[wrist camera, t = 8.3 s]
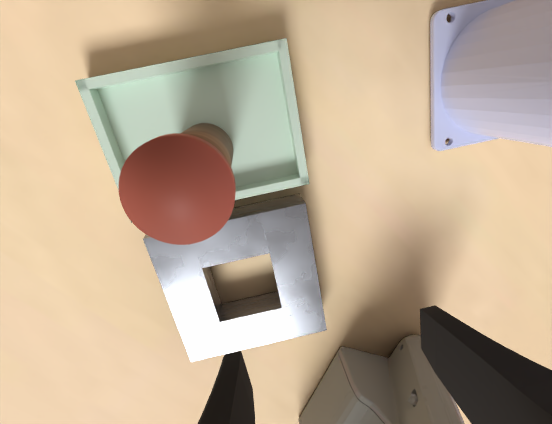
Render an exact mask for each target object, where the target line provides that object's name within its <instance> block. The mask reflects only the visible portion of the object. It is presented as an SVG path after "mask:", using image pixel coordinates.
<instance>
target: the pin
mask: <svg viewBox="0 0 552 424" xmlns="http://www.w3.org/2000/svg"><path fill="white" fill-rule="evenodd" d="M232 160H233V144H232V141H231V139H230V137H229V136H228V134H227V133H226V132H225V131H224V130H223V129H221V128H220V127H218V126H216V125H214V124H210V123H199V124H196V125H193V126H191V127H190V128H188V129H187V130H185V131H183V132H182V133H173V134H166V135H162V136H159V137H156V138H154V139H152V140H150V141H148V142H146V143H144V144H142V145H141V146H139V147H138V148H137V149H135V150H134V151H133V152H132V153H131V154H130V156H129V157H128V158H127V160H126V161H125V163H124V165H123V167H122V169H121V173H120V176H119V184H118V185H119V196H120V200H121V203H122V206H123V208H124V211H125V213H126V214H127V216H128V217H129V219H130V220H131V221H132V222H133V224H134V225H135V226H136V227H137V228H138V229H140V230H141V231H142V232H144V233H145V234H146V235H148V236H150V237H152V238H154V239H156V240H158V241H161V242H164V243H169V244H175V245H188V244H194V243H198V242H201V241H204V240H206V239H208V238H210V237H212V236H213V235H215V234H216V233H217V232H219V231H220V230H221V229H222V228H223V227H224V225H225V224H226V223H227V221H228V219H229V218H230V216H231V213H232V211H233V208H234V203H235V193H236V183H235V177H234V174H233V171H232V168H231V166H232Z"/></svg>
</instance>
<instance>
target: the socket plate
mask: <svg viewBox="0 0 552 424" xmlns="http://www.w3.org/2000/svg"><path fill="white" fill-rule="evenodd" d="M143 240H144V243H145V245H146V248H147V250H148V253H149V256H150V258H151V261H152V263H153V266H154V268H155V271H156V273H157V276H158V278H159V281H160V284H161V286H162V289H163V291H164V294H165V296H166V299H167V301H168V304H169V307H170V309H171V312H172V314H173V317H174V319H175V322H176V324H177V327H178V330H179V332H180V335H181V337H182V340H183V342H184V345H185V347H186V350H187V353H188V355H189V358H190V360H191V362H192V361H197V360H201V359H205V358H209V357H214V356H218V355H222V354H227V353H231V352H235V351H239V350H244V349H248V348H252V347H257V346H261V345H265V344H270V343H274V342H278V341H282V340H287V339H291V338H295V337H300V336H304V335H308V334H312V333H317V332H321V331H325V330H327V329H326V323H325V317H324V311H323V305H322V299H321V293H320V287H319V281H318V275H317V269H316V263H315V257H314V251H313V245H312V239H311V233H310V227H309V221H308V215H307V209H306V203H305V202H304V200H303V198H302V197H301V195H300V194H296V195H291V196H287V197H282V198H277V199H273V200H268V201H264V202H259V203H254V204H250V205H245V206H241V207H236V208H233V211H232V213H231V216H230V218H229V219H228V221H227V223H226V224H225V225H224V227H223V228H222V229H221V230H220V231H219V232H217V233H216V234H215V235H213V236H212V237H210V238H208V239H206V240H204V241H201V242H198V243H194V244H188V245H175V244H169V243H164V242H161V241H158V240H156V239H154V238H152V237H150V236H148V235H145V237H144V238H143ZM268 253H270V257H271V261H272V266H273V270H274V274H275V279H276V283H277V288H278V291H277V292H272V293H268V294H264V295H259V296H255V297H250V298H246V299H242V300H237V301H233V302H228V303H224V304H221V302H220V299H219V296H218V292H217V289H216V286H215V283H214V280H213V276H212V273H211V270H210V266H214V265H219V264H223V263H228V262H232V261H237V260H241V259H245V258H250V257H254V256H259V255H263V254H268Z"/></svg>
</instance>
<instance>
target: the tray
mask: <svg viewBox="0 0 552 424" xmlns="http://www.w3.org/2000/svg"><path fill="white" fill-rule="evenodd" d="M75 82H76V85H77V87H78V90H79V92H80V95H81V97H82V100H83V102H84V105H85V107H86V110H87V112H88V115H89V117H90V120H91V122H92V125H93V127H94V130H95V132H96V135H97V137H98V140H99V142H100V145H101V147H102V150H103V152H104V155H105V157H106V160H107V162H108V165H109V167H110V170H111V172H112V175H113V177H114V180H115V182H116V185H117V187H118V190H119V185H118V184H119V176H120V173H121V169H122V167H123V165H124V163H125V161H126V160H127V158H128V157H129V156H130V154H131V153H132V152H133V151H134V150H135V149H137V148H138V147H139V146H141V145H142V144H144V143H146V142H148V141H150V140H152V139H154V138H156V137H159V136H162V135H166V134H173V133H182V132H183V131H185V130H187V129H188V128H190V127H191V126H193V125H196V124H199V123H210V124H214V125H216V126H218V127H220V128H221V129H223V130H224V131H225V132H226V133H227V134H228V136H229V137H230V139H231V141H232V144H233V160H232V166H231V168H232V171H233V174H234V177H235V183H236V193H235V200H238V199H242V198H247V197H252V196H256V195H261V194H265V193H270V192H275V191H279V190H284V189H288V188H293V187H298V186H302V185H307V184H309V178H308V172H307V165H306V159H305V152H304V146H303V140H302V133H301V127H300V121H299V114H298V108H297V102H296V95H295V89H294V83H293V76H292V70H291V63H290V57H289V51H288V44H287V38H285V39H280V40H275V41H270V42H265V43H260V44H255V45H250V46H245V47H240V48H235V49H230V50H225V51H220V52H215V53H210V54H205V55H200V56H195V57H190V58H185V59H180V60H176V61H171V62H166V63H161V64H156V65H151V66H146V67H141V68H136V69H131V70H126V71H121V72H116V73H111V74H106V75H101V76H96V77H91V78H86V79H81V80H76V81H75ZM131 223H132V221H131Z"/></svg>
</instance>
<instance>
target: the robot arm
mask: <svg viewBox="0 0 552 424" xmlns="http://www.w3.org/2000/svg"><path fill="white" fill-rule="evenodd" d="M448 14H449V15H450V16H451V21H450V22H449V23H448V22H447V19H446V18H447V15H448ZM430 53H431V147H432V148H433V149H434V150H437V151H442V150H447V149H452V148H456V147H461V146H466V145H470V144H475V143H479V142H484V141H489V140H493V139H498V138H502V139H508V140H514V141H520V142H526V143H532V144H538V145H544V146H550V147H552V0H486V1H481V2H476V3H471V4H466V5H461V6H456V7H451V8H446V9H442V10H439V11H437V12H435V13H434V14H433V15H432V17H431V21H430ZM447 138H449V142H448V143H447V144H445V141H446V139H447ZM420 325H421V349H422V351H423V353H424V355H425V356H426V358H427V360H428V362H429V363H430V365H431V367H432V369H433V370H434V372H435V374H436V375H437V377H438V378H439V379H440V381H441V382H442V384H443V385H444V386H445V388H446V389H447V391H448V392H449V393H450V395H451V396H452V397H453V399H454V400H455V402H456V403H457V404H458V406H459V407H460V408H461V410H462V411H463V413H464V414H465V415H466V417H467V418H468V419H469V421H470V422H471V423H472V424H552V370H550V369H548V368H546V367H544V366H541V365H539V364H537V363H535V362H533V361H531V360H529V359H527V358H525V357H523V356H521V355H519V354H518V353H516V352H514V351H512V350H510V349H508V348H506V347H504V346H502V345H501V344H499V343H497V342H495V341H493V340H492V339H490V338H488V337H486V336H485V335H483V334H481V333H480V332H478V331H476V330H475V329H473V328H471V327H470V326H468V325H466V324H465V323H463V322H461V321H460V320H458V319H456V318H455V317H453V316H452V315H450V314H448V313H447V312H445V311H443V310H442V309H440V308H438V307H437V306H431V307H427V308H422V309H420ZM198 424H255V411H254V400H253V389H252V385H251V382H250V379H249V375H248V372H247V369H246V366H245V362H244V359H243V356H242V353H241V351H238V352H233V353H229V354H225V356H224V357H223V360H222V364H221V367H220V370H219V373H218V375H217V378H216V381H215V384H214V386H213V389H212V392H211V394H210V396H209V399H208V401H207V404H206V406H205V409H204V411H203V413H202V415H201V418H200V420H199V422H198Z"/></svg>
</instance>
